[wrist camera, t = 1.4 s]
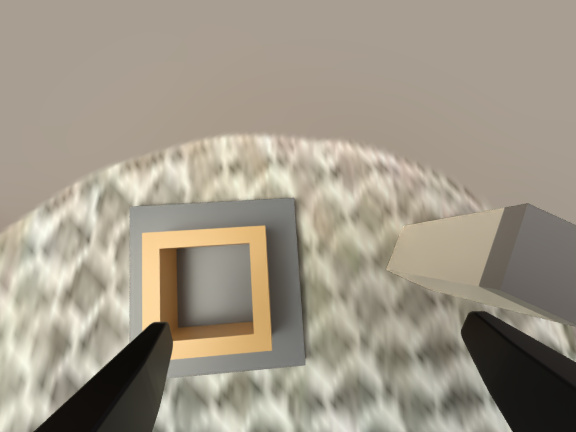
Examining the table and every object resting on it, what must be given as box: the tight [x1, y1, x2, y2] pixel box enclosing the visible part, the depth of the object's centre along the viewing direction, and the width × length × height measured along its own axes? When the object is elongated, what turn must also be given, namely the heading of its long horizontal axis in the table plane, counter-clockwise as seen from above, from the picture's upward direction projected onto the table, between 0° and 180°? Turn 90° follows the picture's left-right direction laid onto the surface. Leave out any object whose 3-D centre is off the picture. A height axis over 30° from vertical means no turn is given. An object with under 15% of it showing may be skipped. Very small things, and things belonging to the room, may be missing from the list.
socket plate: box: [130, 198, 305, 378], centre depth 22 cm, size 14×14×4 cm
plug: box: [386, 204, 576, 327], centre depth 19 cm, size 4×4×12 cm
